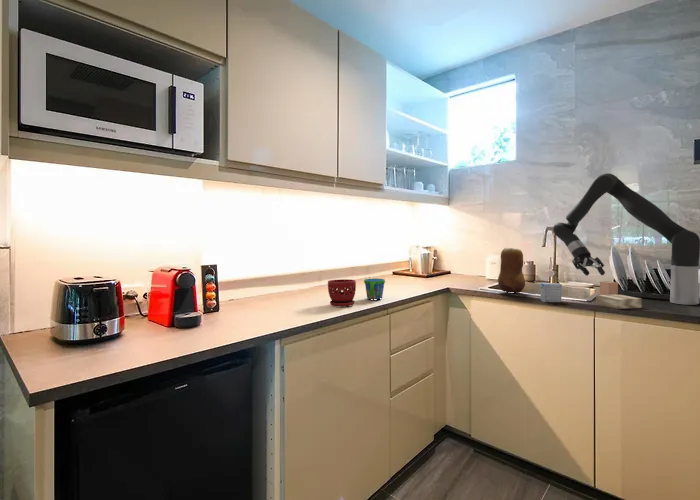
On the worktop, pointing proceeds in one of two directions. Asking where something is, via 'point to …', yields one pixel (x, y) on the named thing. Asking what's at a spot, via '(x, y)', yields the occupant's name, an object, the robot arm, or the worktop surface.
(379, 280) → the blue green flowerpot
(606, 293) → the terracotta block
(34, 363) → the worktop surface
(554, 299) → the medicine box
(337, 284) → the plant pot
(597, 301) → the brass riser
